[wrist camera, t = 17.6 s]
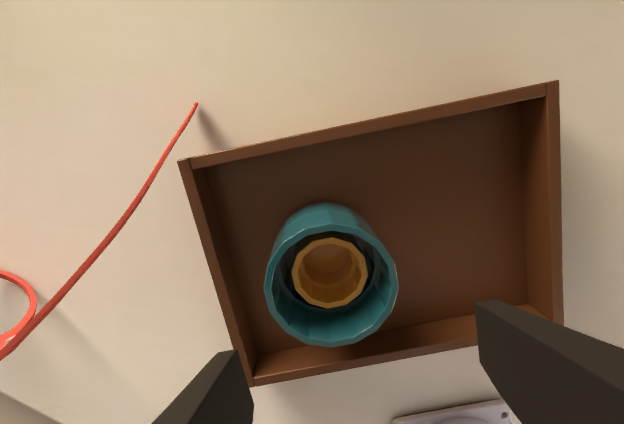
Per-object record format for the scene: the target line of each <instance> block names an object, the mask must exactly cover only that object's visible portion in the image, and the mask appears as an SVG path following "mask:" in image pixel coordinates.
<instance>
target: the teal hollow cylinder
mask: <svg viewBox="0 0 624 424" xmlns="http://www.w3.org/2000/svg"><path fill="white" fill-rule="evenodd" d="M327 231H338V232H343V233H349V234H352V235H353V236H354V237H355V239H356V241H357V243H358V245H359V247H360V249H361V251H362V253H363V255H364V257H365V260H366V266H367V271H368V277H367V280H366V282H365V285H364V287H363V290H362V292H361V294H359V295H358V296H357V297H356V298H354V299H353V300H352V301H351V302H349V303H348V304H347V305H344V306H339V307H334V308H328V309H326V308H323V307H319V306H316V305H313V304H309V303H308V302H307V301H306V300H305V299H304V298H303V297H302V296H301V295H300V294H299V293H298V292H297V291H296V290H295V286H294V282H293V278H292V274H291V270H292V261H293V254H294V248H295V246H296V243H297V242H298V241H300V240H301V239H303V238H304V237H306V236H307V235H312V234H317V233H322V232H327ZM398 287H399V285H398V279H397V272H396V266H395V262H394V261H393V259H392V258H391V256H390V255H389V253H388V252H387V250H386V249H385V247H384V245H383V244H382V242H381V241H380V240H379V238H378V237H377V236H376V234H375V233H374V232H373V230H372V229H371V228H370V226H369V225H368V224H367V222H366V221H365V219H364V218H363V217H362V216H361V215H360V214H358V213H357V212H355V211H354V210H352V209H351V208H349V207H348V206H345V205H342V204H337V203H332V202H320V203H315V204H310V205H306V206H304V207H302V208H301V209H299V210H298V211H296V212H295V213H293V214H292V215H290V216H289V217H288V218H287V220H286V221H285V223H284V224H283V226H282V227H281V229H280V230H279V232H278V234H277V237H276V240H275V243H274V246H273V249H272V252H271V256H270V259H269V262H268V265H267V270H266V276H265V282H264V288H263V289H264V294H265V298H266V301H267V305H268V309H269V312H270V314H271V315H272V316H273V318H274V319H275V320H276V321H277V323H278V324H279V325H280V327H281V328H282V329H283V330H284V331H285V332H286V333H288V334H290V335H291V336H293V337H295V338H297V339H298V340H300V341H302V342H304V343H306V344H310V345H316V346H323V347H329V348H332V347H338V346H343V345H348V344H353V343H357V342H358V341H360V340H362V339H363V338H365V337H367V336H368V335H370V334H372V333H373V332H375V331H377V330H378V328H379V327H380V326H381V325H382V323H383V322H384V321H385V320H386V318H387V317H388V316H389V315H390V313H391V312H392V310H393V307H394V303H395V299H396V296H397V292H398V289H399V288H398Z"/></svg>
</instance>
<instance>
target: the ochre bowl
mask: <svg viewBox="0 0 624 424" xmlns="http://www.w3.org/2000/svg"><path fill="white" fill-rule="evenodd" d="M291 274H292V278H293V282H294V286H295V290H296V291H297V292H298V293H299V294H300V295H301V296H302V297H303V298H304V299H305V300H306V301H307V302H308V303H309V304H313V305H316V306H319V307H323V308H326V309H328V308H334V307H339V306H344V305H347V304H348V303H349V302H351V301H352V300H353V299H354V298H356V297H357V296H358V295H359V294H361V292H362V290H363V287H364V285H365V282H366V280H367V277H368V271H367V266H366V260H365V257H364V255H363V253H362V251H361V249H360V247H359V245H358V243H357V241H356V239H355V237H354V236H353V235H352V234H349V233H343V232H338V231H327V232H322V233H317V234H312V235H307V236H306V237H304V238H303V239H301V240H300V241H298V242H297V243H296V246H295V248H294V254H293V261H292V270H291Z"/></svg>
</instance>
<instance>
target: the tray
mask: <svg viewBox="0 0 624 424" xmlns="http://www.w3.org/2000/svg"><path fill="white" fill-rule="evenodd" d="M177 163H178V166H179V170H180V173H181V176H182V180H183V183H184V186H185V190H186V193H187V196H188V200H189V203H190V206H191V210H192V213H193V216H194V219H195V223H196V226H197V229H198V233H199V236H200V239H201V243H202V246H203V249H204V253H205V256H206V259H207V263H208V266H209V269H210V272H211V276H212V279H213V282H214V286H215V289H216V292H217V296H218V299H219V302H220V306H221V309H222V312H223V316H224V319H225V322H226V325H227V329H228V332H229V335H230V339H231V342H232V345H233V349H237V350H238V353H239V356H240V360H241V363H242V366H243V369H244V373H245V376H246V379H247V383H248V386H249V388H250V387H255V386H261V385H267V384H272V383H277V382H283V381H288V380H293V379H299V378H304V377H310V376H315V375H320V374H326V373H331V372H336V371H342V370H347V369H352V368H358V367H363V366H368V365H374V364H379V363H384V362H390V361H395V360H400V359H406V358H411V357H416V356H422V355H427V354H432V353H438V352H443V351H449V350H454V349H459V348H465V347H470V346H475V345H478V339H477V329H476V319H475V309H474V303H476V302H481V301H487V300H492V299H496V300H499V301H502V302H505V303H508V304H510V305H513V306H515V307H518V308H520V309H523V310H525V311H528V312H530V313H532V314H535V315H537V316H540V317H542V318H545V319H547V320H550V321H552V322H554V323H557V324H559V325H562V326H564V310H563V259H562V209H561V158H560V107H559V80H555V81H550V82H545V83H540V84H536V85H531V86H526V87H521V88H517V89H512V90H507V91H503V92H498V93H493V94H488V95H484V96H479V97H474V98H469V99H465V100H460V101H455V102H450V103H446V104H441V105H436V106H431V107H427V108H422V109H417V110H413V111H408V112H403V113H398V114H394V115H389V116H384V117H379V118H375V119H370V120H365V121H360V122H356V123H351V124H346V125H341V126H337V127H332V128H327V129H323V130H318V131H313V132H308V133H304V134H299V135H294V136H289V137H285V138H280V139H275V140H270V141H266V142H261V143H256V144H251V145H247V146H242V147H237V148H233V149H228V150H223V151H218V152H214V153H209V154H204V155H199V156H195V157H190V158H185V159H180V160H177ZM320 202H332V203H337V204H342V205H345V206H348V207H349V208H351V209H352V210H354V211H355V212H357V213H358V214H360V215H361V216H362V217H363V218H364V219H365V221H366V222H367V224H368V225H369V226H370V228H371V229H372V230H373V232H374V233H375V234H376V236H377V237H378V238H379V240H380V241H381V242H382V244H383V245H384V247H385V249H386V250H387V252H388V253H389V255H390V256H391V258H392V259H393V261H394V262H395V266H396V272H397V279H398V285H399V287H398V288H399V289H398V292H397V296H396V299H395V303H394V307H393V310H392V312H391V313H390V315H389V316H388V317H387V318H386V320H385V321H384V322H383V323H382V325H381V326H380V327H379V328H378V330H377V331H375V332H373V333H372V334H370V335H368V336H367V337H365V338H363V339H362V340H360V341H358V342H357V343H353V344H348V345H343V346H338V347H332V348H329V347H323V346H316V345H310V344H306V343H304V342H302V341H300V340H298V339H297V338H295V337H293V336H291V335H290V334H288V333H286V332H285V331H284V330H283V329H282V328H281V327H280V325H279V324H278V323H277V321H276V320H275V319H274V318H273V316H272V315H271V314H270V312H269V309H268V305H267V301H266V298H265V294H264V289H263V288H264V282H265V276H266V270H267V265H268V262H269V259H270V256H271V252H272V249H273V246H274V243H275V240H276V237H277V234H278V232H279V230H280V229H281V227H282V226H283V224H284V223H285V221H286V220H287V218H288V217H289V216H290V215H292V214H293V213H295V212H296V211H298V210H299V209H301V208H302V207H304V206H306V205H310V204H315V203H320Z"/></svg>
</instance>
